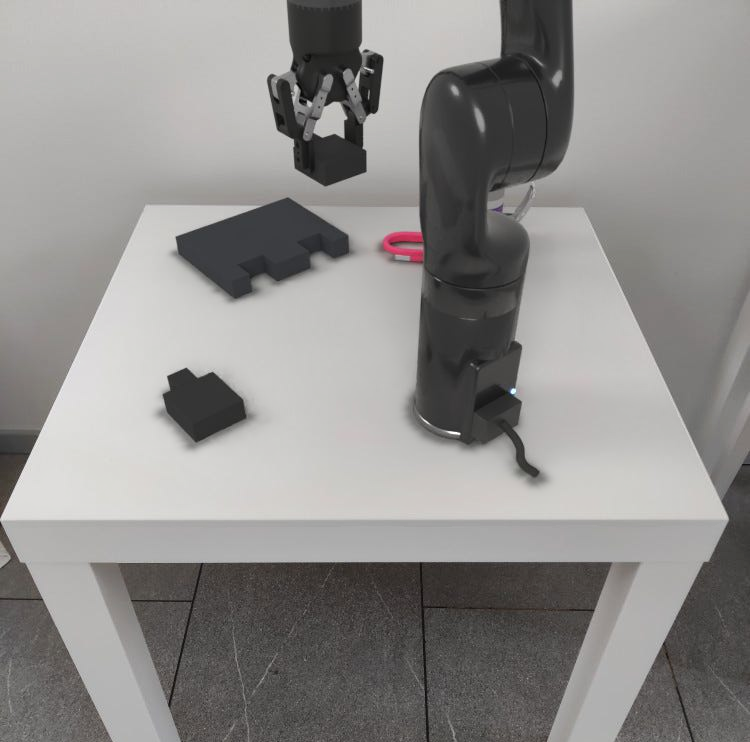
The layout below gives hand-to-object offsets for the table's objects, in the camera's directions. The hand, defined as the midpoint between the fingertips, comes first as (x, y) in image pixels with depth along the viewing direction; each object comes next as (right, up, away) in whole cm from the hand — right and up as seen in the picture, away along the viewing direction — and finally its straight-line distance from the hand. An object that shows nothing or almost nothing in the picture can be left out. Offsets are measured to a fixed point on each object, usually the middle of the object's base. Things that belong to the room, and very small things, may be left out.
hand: (330, 162), depth 88 cm
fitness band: (+10, -5, +15) cm, 19 cm away
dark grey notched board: (-10, -6, +14) cm, 18 cm away
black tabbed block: (-1, 0, +1) cm, 2 cm away
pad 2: (-13, -29, -8) cm, 33 cm away
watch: (+22, -4, +16) cm, 27 cm away
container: (+18, -10, +11) cm, 23 cm away
